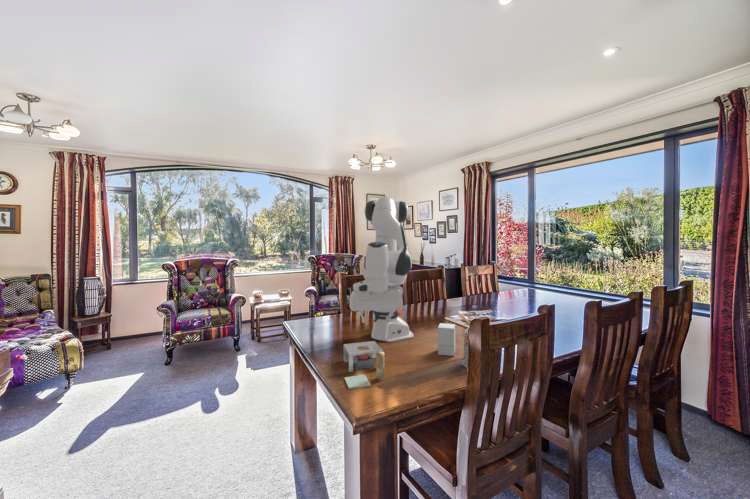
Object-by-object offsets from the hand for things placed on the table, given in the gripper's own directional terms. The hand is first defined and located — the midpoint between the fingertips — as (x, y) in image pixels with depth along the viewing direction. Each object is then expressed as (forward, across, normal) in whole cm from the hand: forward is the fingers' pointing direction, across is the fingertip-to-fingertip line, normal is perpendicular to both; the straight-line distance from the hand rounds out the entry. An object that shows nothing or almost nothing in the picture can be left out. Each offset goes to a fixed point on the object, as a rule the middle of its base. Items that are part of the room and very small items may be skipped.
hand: (376, 321), depth 120 cm
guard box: (+21, +2, -13) cm, 25 cm away
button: (+19, +2, -12) cm, 23 cm away
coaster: (+22, +7, +2) cm, 23 cm away
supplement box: (+21, -38, -16) cm, 46 cm away
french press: (+21, -42, -2) cm, 47 cm away
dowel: (+21, -2, +2) cm, 22 cm away
